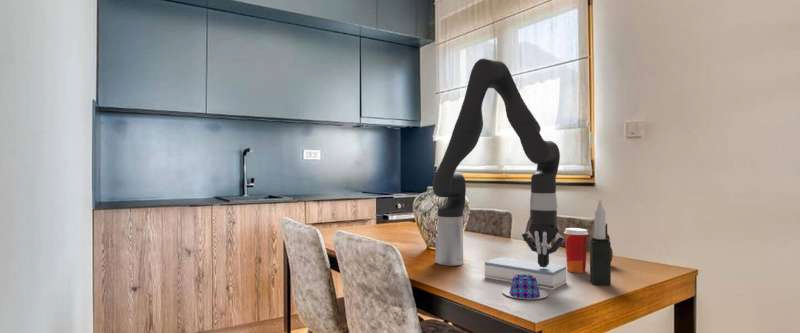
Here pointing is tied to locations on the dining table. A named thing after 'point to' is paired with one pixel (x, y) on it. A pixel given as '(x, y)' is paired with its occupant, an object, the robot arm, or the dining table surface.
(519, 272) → the grey lidded box
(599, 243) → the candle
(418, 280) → the dining table surface
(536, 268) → the lid
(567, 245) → the paper cup
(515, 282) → the pudding
